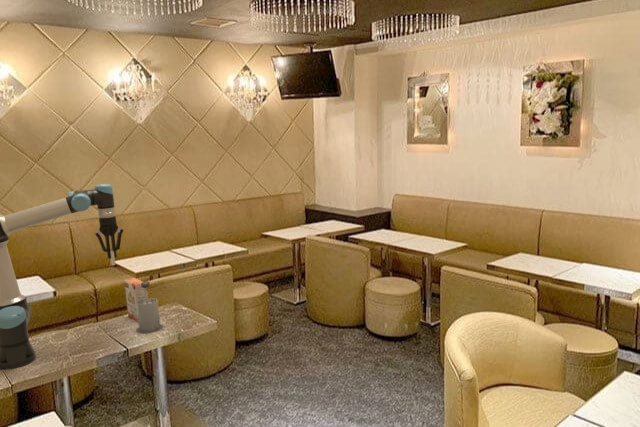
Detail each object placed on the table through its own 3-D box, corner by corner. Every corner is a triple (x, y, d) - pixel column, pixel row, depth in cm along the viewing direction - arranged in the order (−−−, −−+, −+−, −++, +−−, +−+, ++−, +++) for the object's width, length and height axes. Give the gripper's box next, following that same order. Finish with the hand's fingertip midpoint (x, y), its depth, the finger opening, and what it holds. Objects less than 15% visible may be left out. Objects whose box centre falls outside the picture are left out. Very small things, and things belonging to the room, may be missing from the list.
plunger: (142, 309, 256) (140, 285, 254) (138, 305, 262) (136, 282, 260) (156, 306, 260) (154, 282, 258) (152, 302, 266) (150, 279, 264)
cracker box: (127, 317, 282) (123, 279, 279) (138, 314, 286) (134, 277, 283) (138, 323, 272) (134, 284, 269) (149, 320, 276) (145, 282, 273)
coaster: (140, 337, 254) (140, 335, 254) (132, 329, 265) (132, 327, 264) (166, 330, 261) (166, 329, 261) (158, 323, 272) (158, 321, 272)
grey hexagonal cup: (142, 333, 256) (139, 306, 254) (136, 327, 264) (134, 301, 262) (162, 328, 261) (160, 301, 259) (156, 323, 269) (153, 296, 267)
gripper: (94, 219, 244) (100, 268, 248) (123, 215, 252) (129, 263, 255) (91, 217, 250) (97, 265, 254) (119, 213, 258) (124, 260, 262)
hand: (113, 264), depth 255 cm, fingers closed
